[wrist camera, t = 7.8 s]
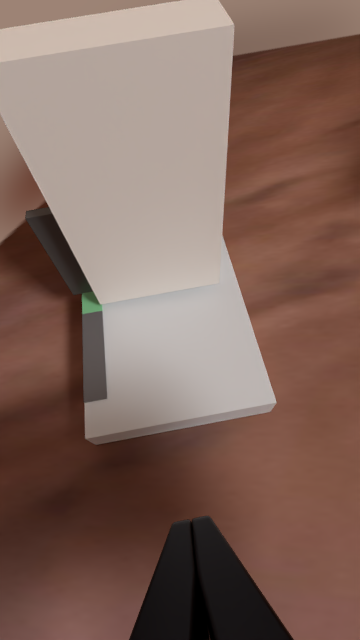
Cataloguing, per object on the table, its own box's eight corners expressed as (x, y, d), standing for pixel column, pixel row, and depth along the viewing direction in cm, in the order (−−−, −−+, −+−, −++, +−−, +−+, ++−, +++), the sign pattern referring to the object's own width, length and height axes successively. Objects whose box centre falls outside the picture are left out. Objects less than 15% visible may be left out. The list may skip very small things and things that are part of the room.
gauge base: (270, 411, 15) (277, 401, 13) (95, 445, 14) (84, 438, 13) (204, 200, 22) (204, 180, 21) (88, 220, 22) (80, 201, 20)
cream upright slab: (219, 283, 16) (234, 24, 7) (74, 309, 16) (-83, 75, 7) (202, 224, 18) (198, -31, 10) (73, 246, 18) (-48, 8, 9)
